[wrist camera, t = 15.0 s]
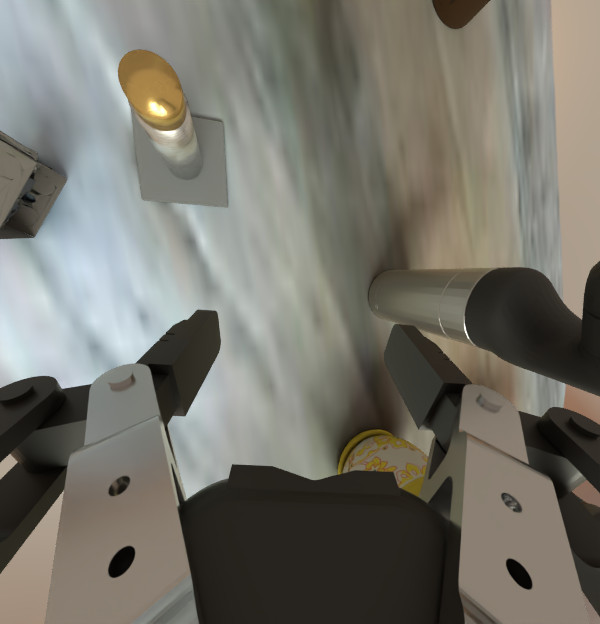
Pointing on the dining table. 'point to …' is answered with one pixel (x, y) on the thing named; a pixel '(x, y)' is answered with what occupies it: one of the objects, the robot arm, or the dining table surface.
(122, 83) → the canister
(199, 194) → the mat
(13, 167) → the electrical switch
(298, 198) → the dining table surface
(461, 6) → the olive oil
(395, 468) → the flowerpot
